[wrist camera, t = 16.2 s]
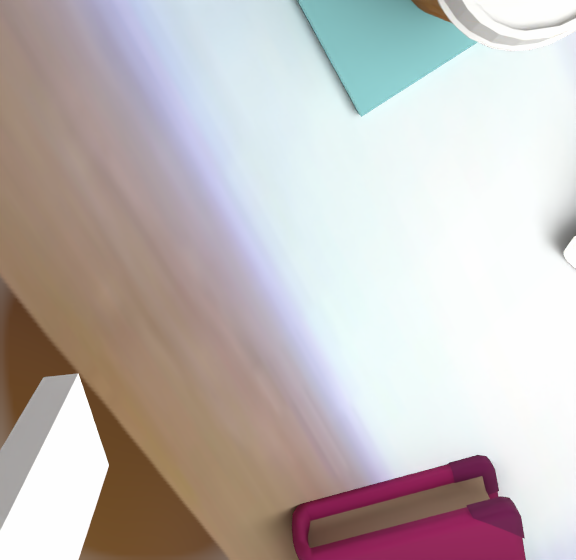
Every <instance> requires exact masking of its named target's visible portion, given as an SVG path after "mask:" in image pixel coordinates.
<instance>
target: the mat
mask: <svg viewBox="0 0 576 560" xmlns="http://www.w3.org/2000/svg"><path fill="white" fill-rule="evenodd" d="M297 1H298V3H299V5H300V7H301V8H302V10H303V12H304V14H305V16H306V18H307V19H308V21H309V23H310V25H311V27H312V29H313V30H314V32H315V34H316V36H317V38H318V40H319V41H320V43H321V45H322V47H323V49H324V51H325V53H326V54H327V56H328V58H329V60H330V62H331V64H332V65H333V67H334V69H335V71H336V73H337V75H338V76H339V78H340V80H341V82H342V84H343V86H344V87H345V89H346V91H347V93H348V95H349V97H350V99H351V100H352V102H353V104H354V106H355V108H356V110H357V111H358V113H359V115H361V116H363V115H365V114H366V113H368V112H369V111H371V110H373V109H374V108H376V107H377V106H379V105H380V104H382V103H383V102H385V101H387V100H388V99H390V98H391V97H393V96H394V95H396V94H397V93H399V92H401V91H402V90H404V89H405V88H407V87H408V86H410V85H412V84H413V83H415V82H416V81H418V80H419V79H421V78H422V77H424V76H426V75H427V74H429V73H430V72H432V71H433V70H435V69H437V68H438V67H440V66H441V65H443V64H444V63H446V62H447V61H449V60H451V59H452V58H454V57H455V56H457V55H458V54H460V53H462V52H463V51H465V50H466V49H468V48H469V47H471V46H472V45H474V44H476V43H477V41H475V40H472V39H470V38H468V37H467V36H466V35H464V34H463V33H462V32H461V31H460V30H459V29H458V28H457V27H456V26H455V25H454V24H452V23H450V22H448V21H445V20H443V19H440V18H438V17H435V16H433V15H430V14H428V13H425V12H424V11H422V10H421V9H419V8H418V7H417V6H416V5H415V4H414V3H413V2H412V0H297Z"/></svg>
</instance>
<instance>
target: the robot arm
mask: <svg viewBox="0 0 576 560" xmlns="http://www.w3.org/2000/svg"><path fill="white" fill-rule="evenodd" d="M108 466H109V465H108V462H107V459H106V455H105V452H104V449H103V446H102V443H101V440H100V437H99V434H98V431H97V428H96V425H95V423H94V420H93V416H92V413H91V410H90V407H89V404H88V401H87V398H86V395H85V392H84V389H83V386H82V383H81V380H80V377H79V374H71V375H61V376H52V377H43V379H42V381H41V382H40V384H39V386H38V388H37V389H36V391H35V393H34V394H33V396H32V398H31V399H30V401H29V403H28V405H27V406H26V408H25V409H24V411H23V413H22V415H21V416H20V418H19V420H18V421H17V423H16V425H15V426H14V428H13V430H12V431H11V433H10V435H9V437H8V438H7V440H6V442H5V444H4V445H3V447H2V449H1V450H0V560H78V559H79V556H80V553H81V549H82V546H83V543H84V540H85V537H86V534H87V531H88V528H89V525H90V522H91V519H92V516H93V513H94V509H95V507H96V503H97V500H98V497H99V494H100V491H101V488H102V485H103V482H104V479H105V476H106V473H107V470H108Z"/></svg>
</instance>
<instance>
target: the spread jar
mask: <svg viewBox="0 0 576 560" xmlns="http://www.w3.org/2000/svg"><path fill="white" fill-rule="evenodd" d="M563 254H564V257H565V258H566V260H567V261H568V262H569V263H570V264H571V265H572V266H573V267H574V268H575V269H576V236H575V237H573V239H572V240H571V242H570V243H569V245H568V246H567V247H566V249H565V250H564V253H563Z"/></svg>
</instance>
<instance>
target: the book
mask: <svg viewBox="0 0 576 560" xmlns="http://www.w3.org/2000/svg"><path fill="white" fill-rule="evenodd" d="M497 491H499V489H498V484H497V478H496V472H495V469H494V467H493V465H492V463H491V461H490V460H489V459H488V458H487V456H481V455H476V456H472V457H469V458H465V459H461V460H458V461H454V462H450V463H449V464H447V465H444V466H440V467H436V468H432V469H429V470H425V471H421V472H418V473H414V474H410V475H407V476H403V477H399V478H395V479H392V480H388V481H384V482H381V483H377V484H373V485H369V486H366V487H362V488H358V489H355V490H351V491H347V492H344V493H340V494H336V495H332V496H329V497H325V498H321V499H318V500H314V501H310V502H306V503H303V504H300V505H299V506H297V508H296V509H295V511H294V513H293V517H292V533H293V543H294V547H295V551H296V554H297V556H298V558H299V560H526V558H525V552H524V546H523V540H522V538H524V532H523V526H522V520H521V516H520V514H519V512H518V510H517V508H516V506H515V505H514V503H513V502H512V500H511V499H510V498H507V497H498V492H497Z"/></svg>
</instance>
